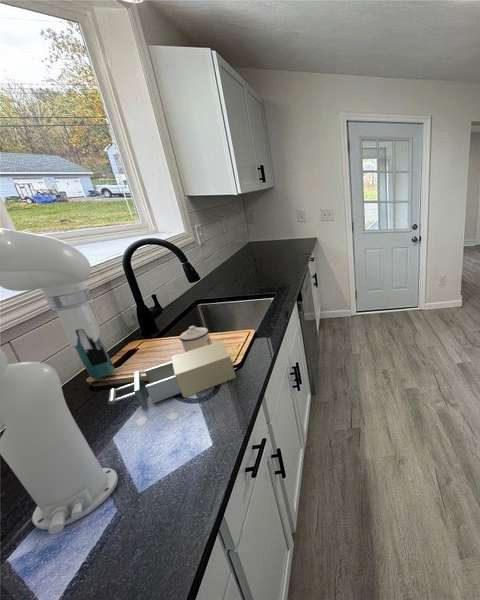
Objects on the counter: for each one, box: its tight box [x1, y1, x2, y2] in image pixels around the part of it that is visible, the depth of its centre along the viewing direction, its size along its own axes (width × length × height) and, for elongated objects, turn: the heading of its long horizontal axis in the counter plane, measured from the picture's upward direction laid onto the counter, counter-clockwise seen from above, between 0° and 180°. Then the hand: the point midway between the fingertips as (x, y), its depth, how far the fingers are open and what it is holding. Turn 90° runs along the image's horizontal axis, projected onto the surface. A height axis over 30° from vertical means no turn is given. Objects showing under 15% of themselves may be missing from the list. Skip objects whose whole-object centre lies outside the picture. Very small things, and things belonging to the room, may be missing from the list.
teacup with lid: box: [179, 325, 213, 352], centre depth 115 cm, size 12×9×12 cm
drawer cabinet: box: [170, 340, 237, 399], centre depth 101 cm, size 15×14×8 cm
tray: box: [108, 361, 182, 410], centre depth 93 cm, size 20×12×6 cm, turn 129°
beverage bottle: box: [74, 336, 115, 379], centre depth 102 cm, size 6×7×20 cm
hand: (100, 362), depth 83 cm, fingers closed
